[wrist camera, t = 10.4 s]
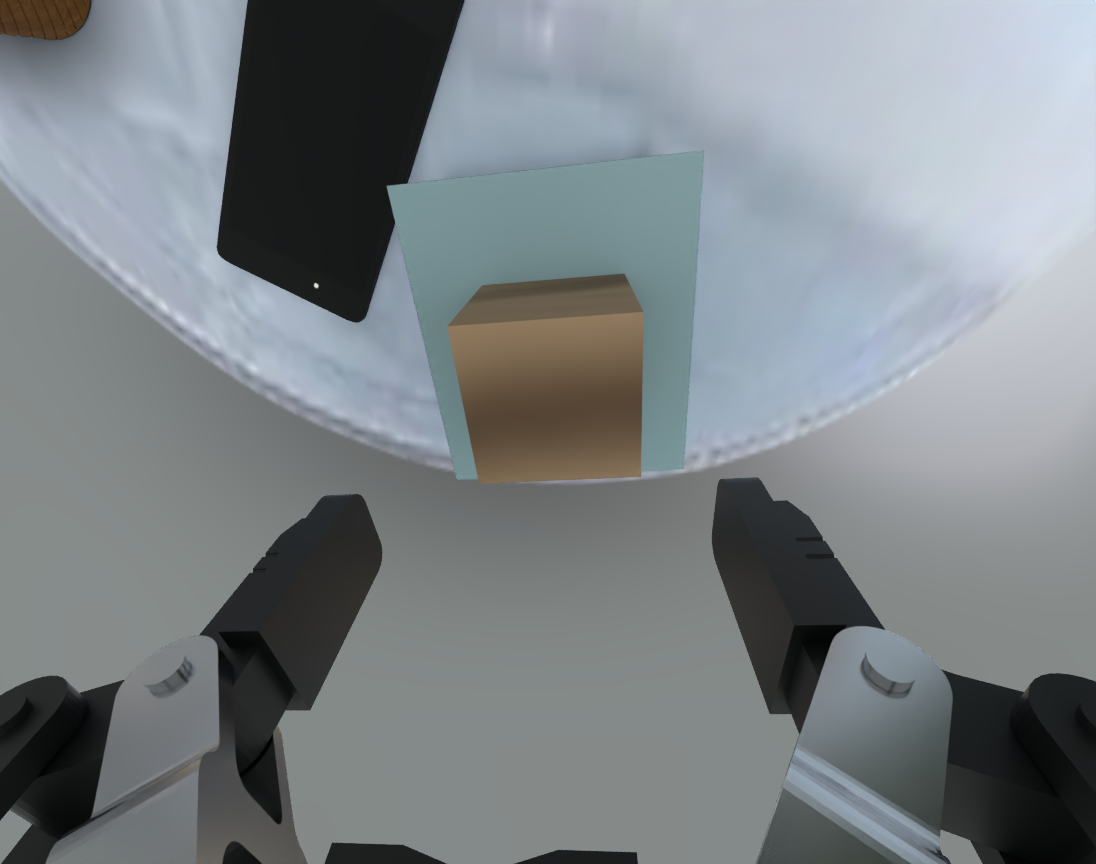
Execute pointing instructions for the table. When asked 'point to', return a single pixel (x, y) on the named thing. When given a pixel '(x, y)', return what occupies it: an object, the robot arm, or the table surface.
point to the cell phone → (327, 139)
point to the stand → (562, 267)
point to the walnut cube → (552, 379)
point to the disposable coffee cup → (42, 17)
